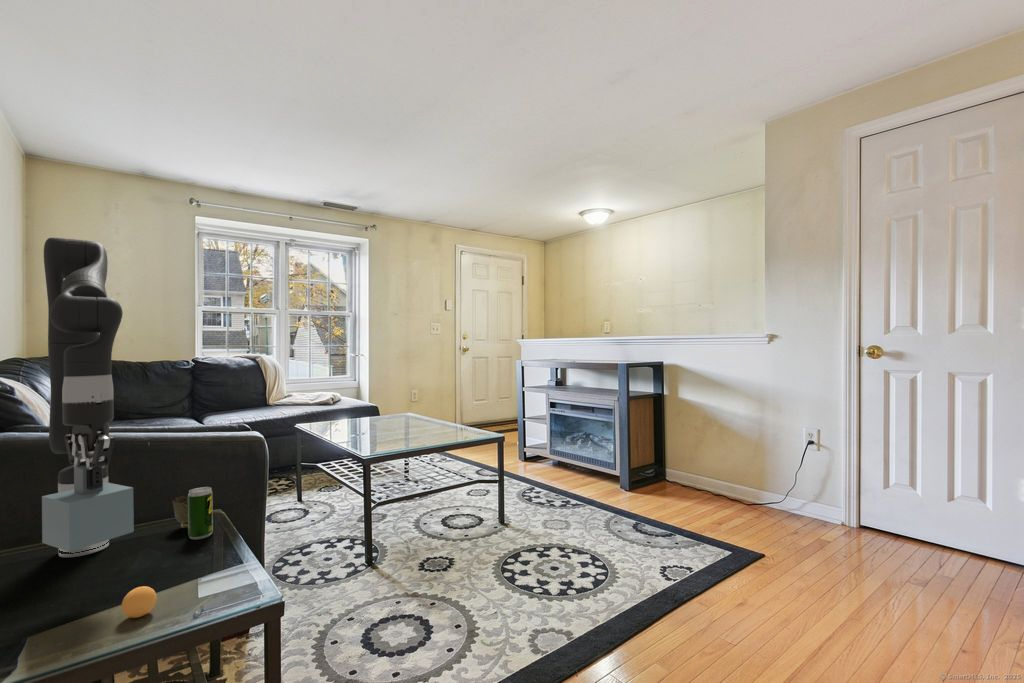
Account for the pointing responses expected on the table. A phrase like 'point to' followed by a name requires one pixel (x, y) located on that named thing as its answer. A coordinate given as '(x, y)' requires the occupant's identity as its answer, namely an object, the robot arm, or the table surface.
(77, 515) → the blue-grey box with knob
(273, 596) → the table surface
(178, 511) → the cup
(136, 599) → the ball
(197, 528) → the beer can
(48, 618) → the table surface
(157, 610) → the table surface
